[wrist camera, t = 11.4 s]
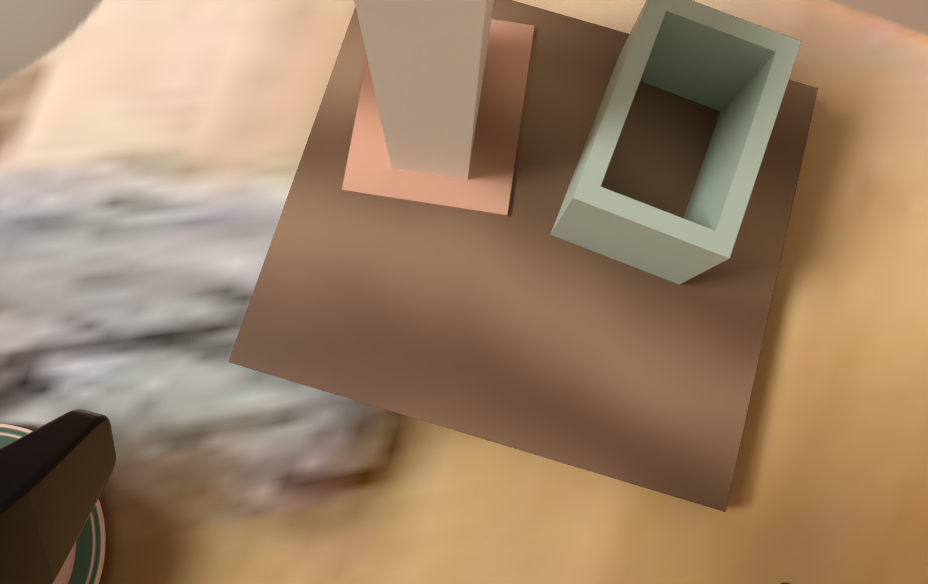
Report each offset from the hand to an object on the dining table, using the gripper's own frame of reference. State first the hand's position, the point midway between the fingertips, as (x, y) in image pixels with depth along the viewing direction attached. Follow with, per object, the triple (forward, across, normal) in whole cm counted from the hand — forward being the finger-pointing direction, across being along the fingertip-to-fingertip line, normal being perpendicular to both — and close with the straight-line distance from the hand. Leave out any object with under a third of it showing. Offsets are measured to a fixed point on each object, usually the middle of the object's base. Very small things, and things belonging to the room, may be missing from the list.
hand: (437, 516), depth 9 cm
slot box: (+17, -5, +1) cm, 17 cm away
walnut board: (+15, -1, +4) cm, 16 cm away
